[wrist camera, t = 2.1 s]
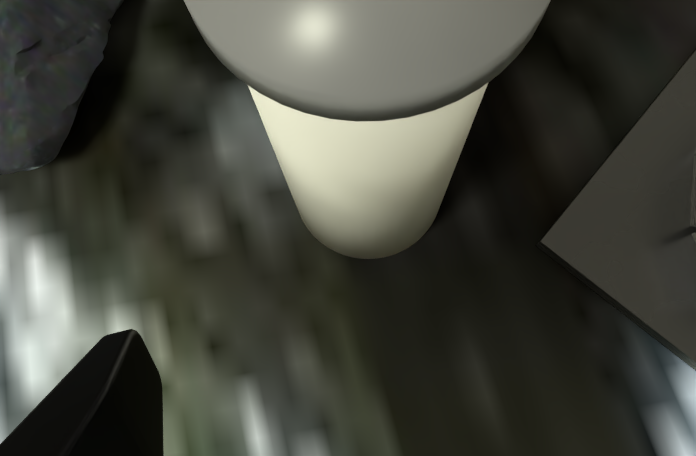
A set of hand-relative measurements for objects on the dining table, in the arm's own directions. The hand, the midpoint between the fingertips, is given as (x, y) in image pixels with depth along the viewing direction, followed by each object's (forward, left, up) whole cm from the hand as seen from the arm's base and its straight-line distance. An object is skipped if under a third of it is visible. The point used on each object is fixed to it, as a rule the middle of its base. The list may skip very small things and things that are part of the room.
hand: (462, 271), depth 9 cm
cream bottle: (+3, +4, -11) cm, 13 cm away
